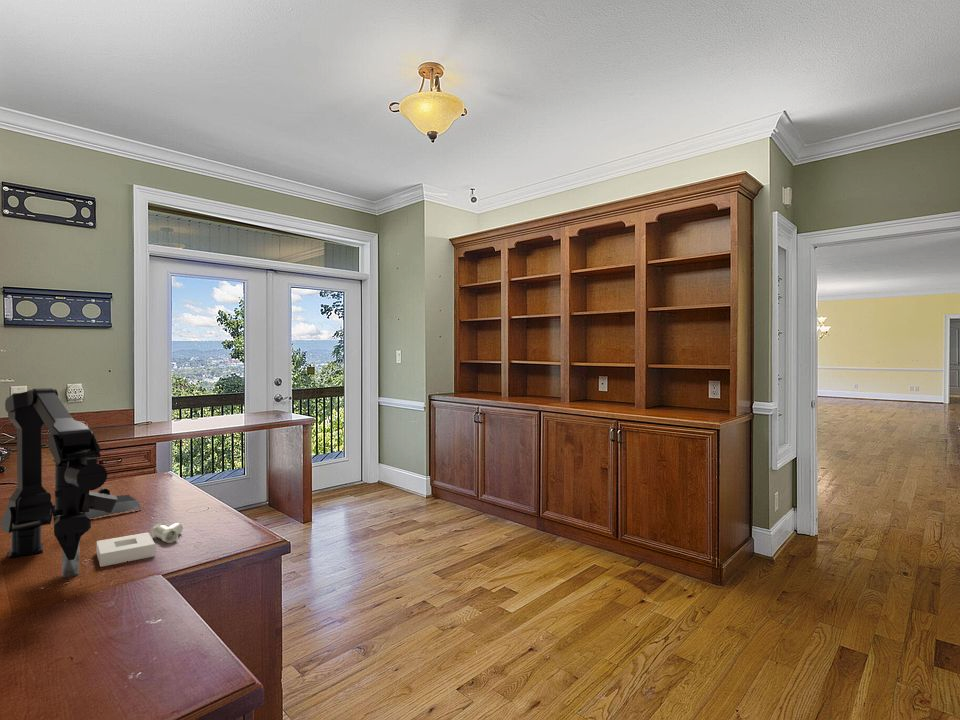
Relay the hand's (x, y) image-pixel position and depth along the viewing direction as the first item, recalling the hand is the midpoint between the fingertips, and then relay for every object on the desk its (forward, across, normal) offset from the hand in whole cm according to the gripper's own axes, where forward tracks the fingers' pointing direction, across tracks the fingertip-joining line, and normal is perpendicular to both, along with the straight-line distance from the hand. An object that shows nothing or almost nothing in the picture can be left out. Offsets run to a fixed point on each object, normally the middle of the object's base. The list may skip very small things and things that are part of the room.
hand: (70, 553), depth 119 cm
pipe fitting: (+5, +14, -22) cm, 27 cm away
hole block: (+5, +7, -11) cm, 14 cm away
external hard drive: (+6, +53, -9) cm, 54 cm away
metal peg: (+5, 0, 0) cm, 5 cm away
